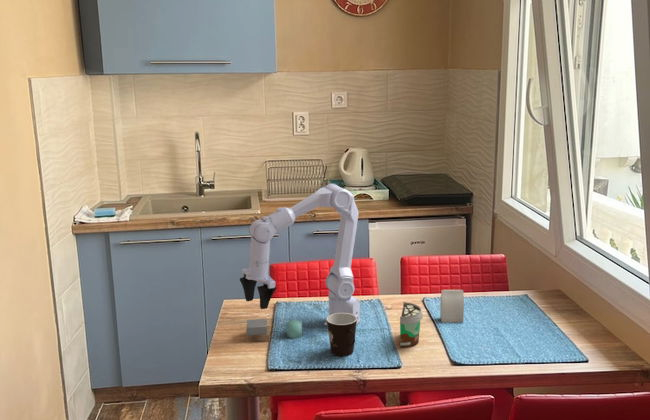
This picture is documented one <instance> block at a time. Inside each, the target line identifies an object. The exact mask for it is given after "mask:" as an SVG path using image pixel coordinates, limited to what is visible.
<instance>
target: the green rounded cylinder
mask: <svg viewBox="0 0 650 420" xmlns="http://www.w3.org/2000/svg"><path fill="white" fill-rule="evenodd" d="M302 323H303V322H302V321H301V320H298V319H294V320H293V319H291V320H289V321H287V322H286V337H287V336H288V337H287V338H289V339H299V337H300V338H301V337H302V336H303V324H302Z"/></svg>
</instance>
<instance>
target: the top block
mask: <svg viewBox="0 0 650 420" xmlns="http://www.w3.org/2000/svg"><path fill="white" fill-rule="evenodd" d="M267 326H268V319H267V318H255V319H247V320H246V330H247V336H250V335H267Z"/></svg>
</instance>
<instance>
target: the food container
mask: <svg viewBox="0 0 650 420" xmlns="http://www.w3.org/2000/svg"><path fill="white" fill-rule="evenodd" d="M402 304H403V307H402V311H401V316H399V318H400V319H399V324H400V325H399V328H400V329H399V333H400V334H399V339H400V340H399V341H400V343H399V345H400V346H399V347H400V348H399V349H405V348H406V349H407V348H412V347H415V346H417V345H418V344H419V340H420V331H421V320H422V319H423V318H424V315H423V310H422V308H421V307H420V306H419V305H417V304H416V303H412V302H407V301H405V302H404V301H403V303H402Z"/></svg>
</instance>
